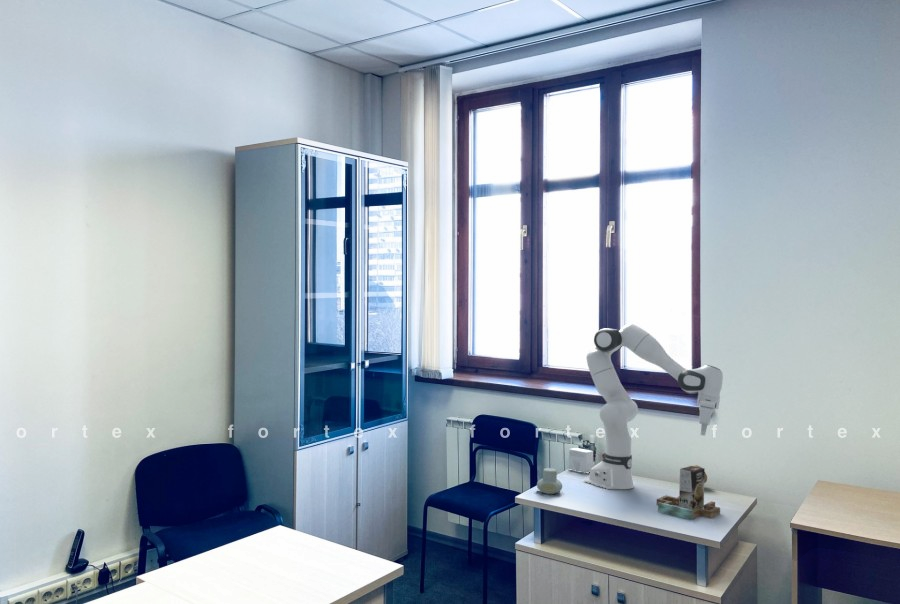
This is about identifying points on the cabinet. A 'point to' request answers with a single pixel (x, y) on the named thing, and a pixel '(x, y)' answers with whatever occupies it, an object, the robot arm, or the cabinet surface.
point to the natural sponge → (704, 474)
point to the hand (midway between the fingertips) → (702, 435)
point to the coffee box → (691, 487)
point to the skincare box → (580, 459)
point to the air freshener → (549, 482)
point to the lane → (668, 508)
